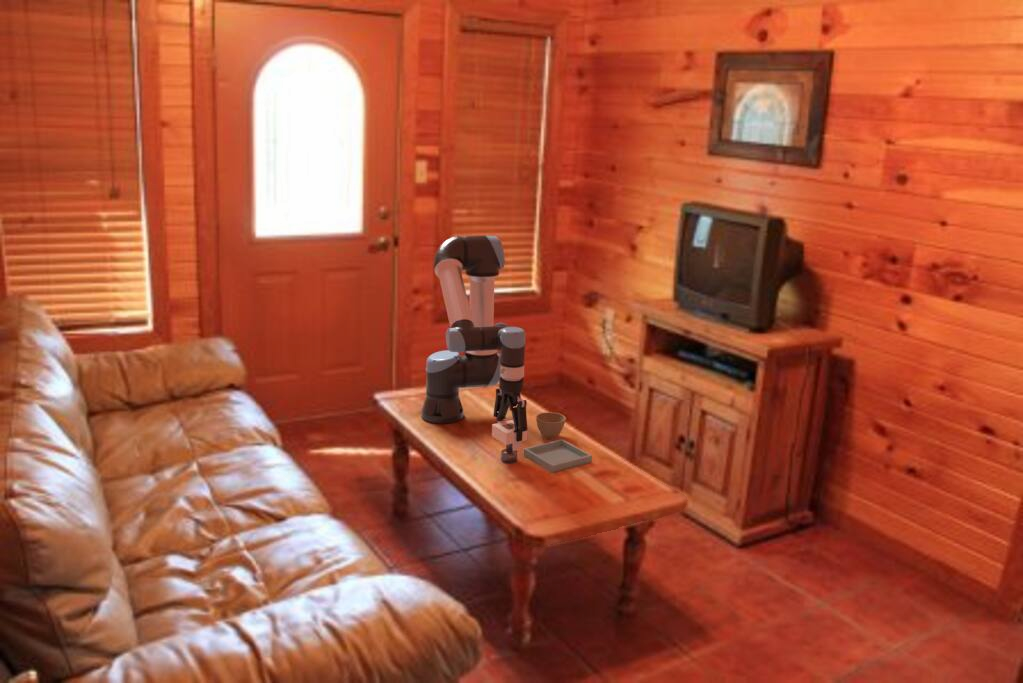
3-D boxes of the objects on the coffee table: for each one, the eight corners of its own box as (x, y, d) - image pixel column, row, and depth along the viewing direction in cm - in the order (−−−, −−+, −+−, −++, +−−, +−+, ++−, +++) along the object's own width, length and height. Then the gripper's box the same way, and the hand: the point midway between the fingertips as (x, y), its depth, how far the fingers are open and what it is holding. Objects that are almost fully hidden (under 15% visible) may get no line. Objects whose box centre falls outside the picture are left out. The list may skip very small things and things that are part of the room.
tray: (523, 455, 281) (523, 448, 280) (561, 445, 290) (562, 439, 289) (552, 473, 269) (552, 465, 268) (591, 462, 277) (592, 455, 277)
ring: (491, 436, 276) (492, 424, 275) (512, 431, 281) (513, 419, 279) (506, 445, 270) (506, 433, 269) (527, 439, 274) (527, 428, 273)
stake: (498, 459, 278) (499, 424, 274) (511, 455, 280) (512, 421, 277) (506, 464, 274) (508, 429, 270) (519, 461, 276) (521, 426, 273)
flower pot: (562, 444, 291) (563, 424, 289) (532, 440, 293) (533, 421, 291) (566, 433, 301) (567, 413, 299) (538, 430, 302) (538, 410, 300)
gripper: (483, 369, 275) (481, 435, 282) (521, 389, 259) (518, 459, 266) (503, 365, 279) (500, 431, 286) (541, 385, 263) (538, 454, 270)
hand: (509, 444), depth 276 cm, fingers closed on ring, 8 cm apart
